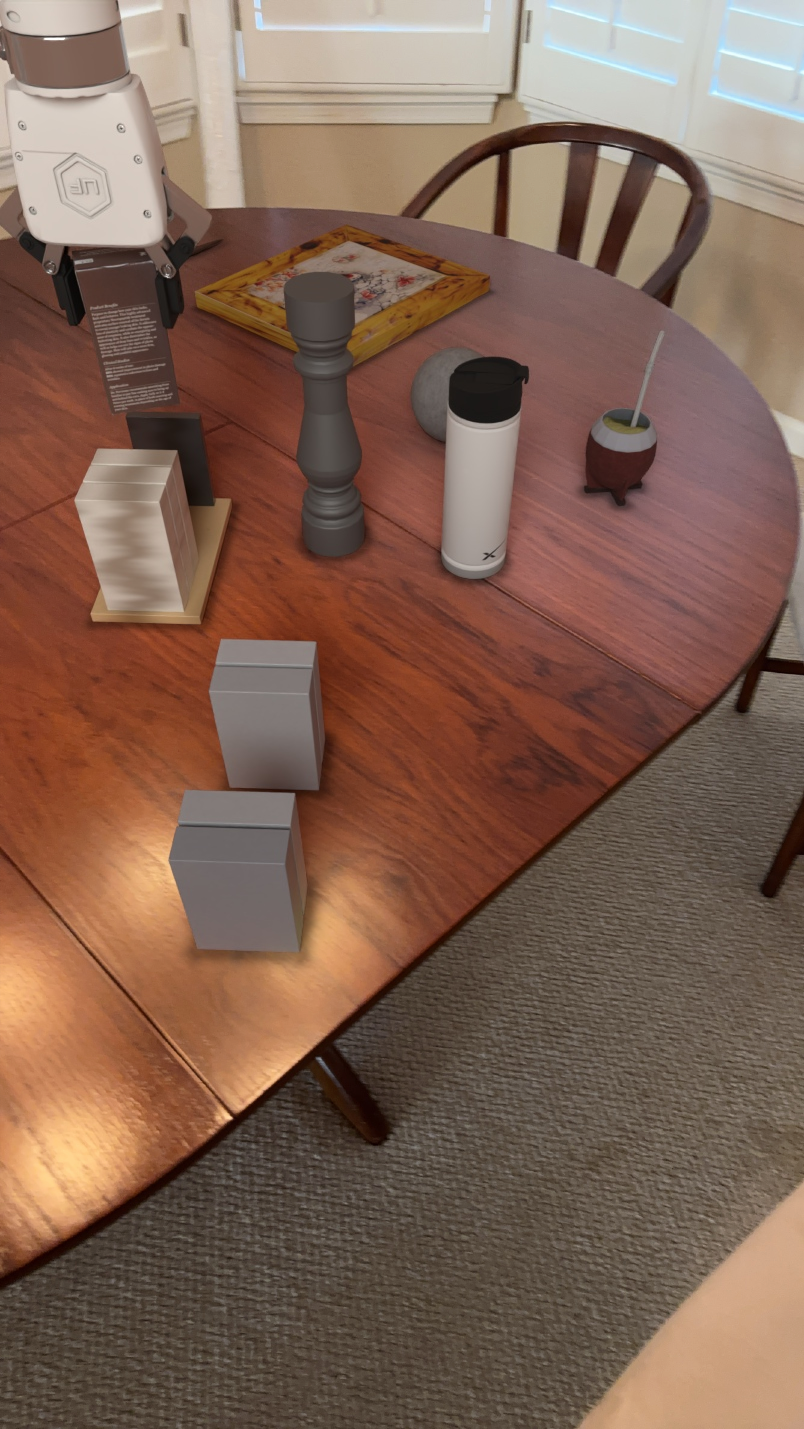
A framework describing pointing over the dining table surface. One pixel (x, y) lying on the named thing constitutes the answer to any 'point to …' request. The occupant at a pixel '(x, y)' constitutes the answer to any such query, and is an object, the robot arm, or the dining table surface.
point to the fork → (203, 247)
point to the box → (127, 327)
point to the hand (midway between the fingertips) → (125, 318)
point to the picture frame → (387, 289)
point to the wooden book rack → (153, 522)
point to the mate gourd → (622, 445)
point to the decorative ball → (436, 388)
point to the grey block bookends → (253, 800)
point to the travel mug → (480, 464)
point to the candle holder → (326, 411)
